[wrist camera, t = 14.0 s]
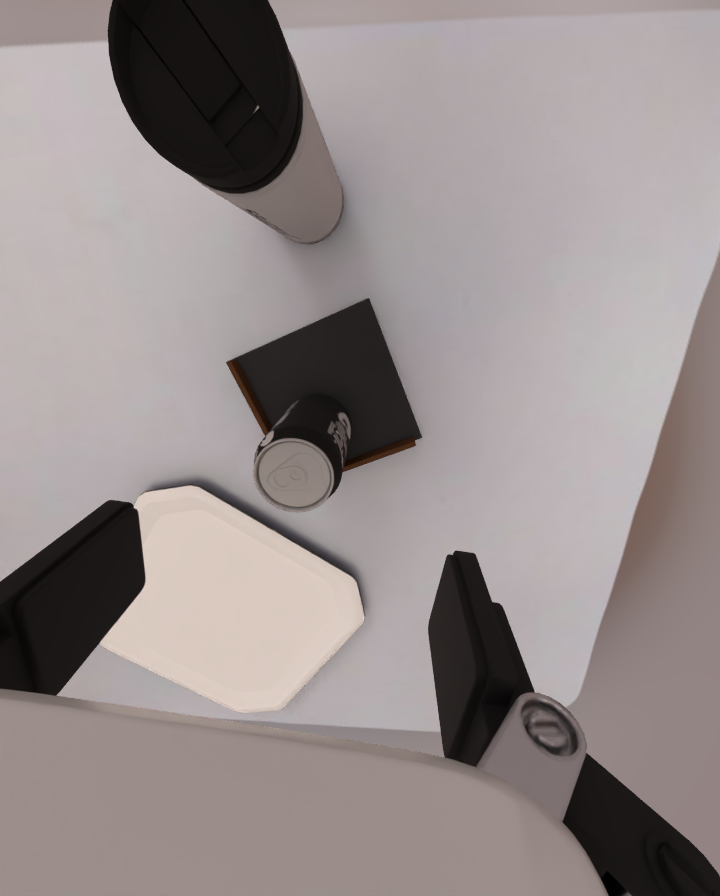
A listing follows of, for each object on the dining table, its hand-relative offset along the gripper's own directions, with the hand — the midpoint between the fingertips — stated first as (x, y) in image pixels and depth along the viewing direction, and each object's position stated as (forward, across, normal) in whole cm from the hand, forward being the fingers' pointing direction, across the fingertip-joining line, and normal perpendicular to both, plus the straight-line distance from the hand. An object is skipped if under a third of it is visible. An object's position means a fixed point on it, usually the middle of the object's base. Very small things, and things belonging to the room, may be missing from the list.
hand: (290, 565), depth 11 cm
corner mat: (+27, +2, +2) cm, 27 cm away
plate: (+27, +12, +30) cm, 42 cm away
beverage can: (+27, +3, +5) cm, 27 cm away
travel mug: (+27, +6, -14) cm, 31 cm away
